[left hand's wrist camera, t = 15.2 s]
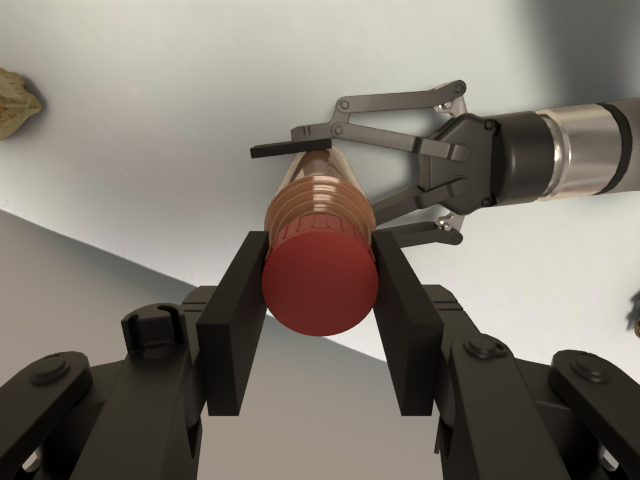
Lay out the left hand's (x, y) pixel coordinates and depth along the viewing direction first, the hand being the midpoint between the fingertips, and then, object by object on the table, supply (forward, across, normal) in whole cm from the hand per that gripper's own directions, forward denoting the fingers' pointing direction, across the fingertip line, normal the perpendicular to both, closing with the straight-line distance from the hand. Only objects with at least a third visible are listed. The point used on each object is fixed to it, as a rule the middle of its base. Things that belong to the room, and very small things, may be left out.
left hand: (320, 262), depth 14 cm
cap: (-2, 0, 0) cm, 2 cm away
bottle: (+23, 0, 0) cm, 23 cm away
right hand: (+17, -5, -1) cm, 18 cm away
